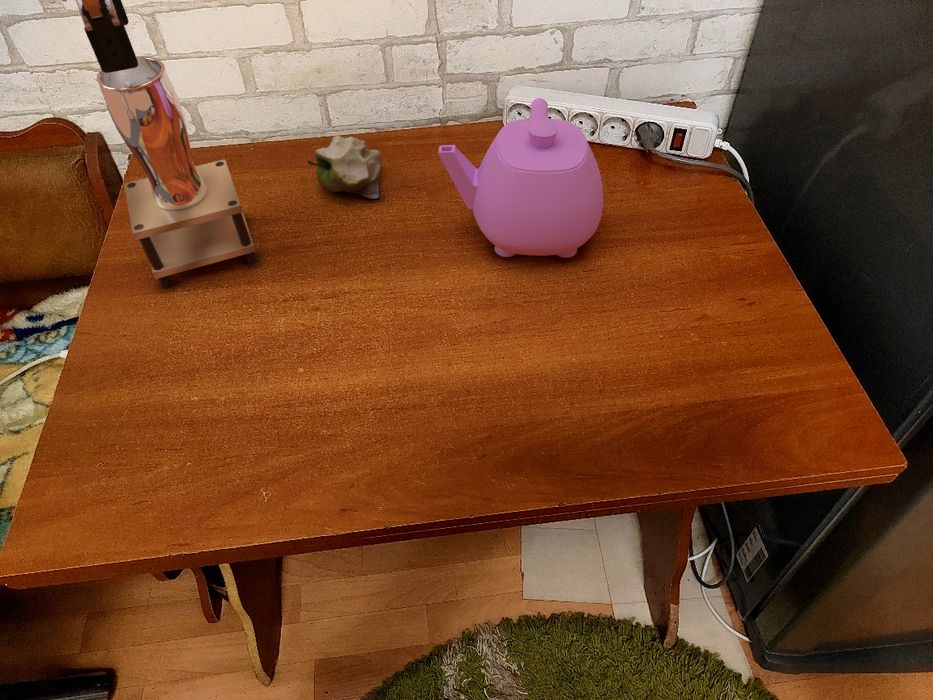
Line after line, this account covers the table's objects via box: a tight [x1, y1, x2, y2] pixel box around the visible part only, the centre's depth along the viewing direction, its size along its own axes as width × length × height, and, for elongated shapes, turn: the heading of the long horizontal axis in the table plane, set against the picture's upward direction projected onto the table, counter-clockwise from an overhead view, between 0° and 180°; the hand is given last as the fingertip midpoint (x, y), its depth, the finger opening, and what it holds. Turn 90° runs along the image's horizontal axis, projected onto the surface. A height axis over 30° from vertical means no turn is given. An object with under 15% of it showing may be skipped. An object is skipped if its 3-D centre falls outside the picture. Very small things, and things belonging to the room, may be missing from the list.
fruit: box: [307, 135, 382, 200], centre depth 93 cm, size 9×9×8 cm
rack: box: [123, 158, 258, 289], centre depth 83 cm, size 12×10×9 cm
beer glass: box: [96, 55, 207, 210], centre depth 74 cm, size 7×7×15 cm
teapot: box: [437, 97, 604, 259], centre depth 84 cm, size 20×20×15 cm
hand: (116, 46), depth 66 cm, fingers open, 9 cm apart
